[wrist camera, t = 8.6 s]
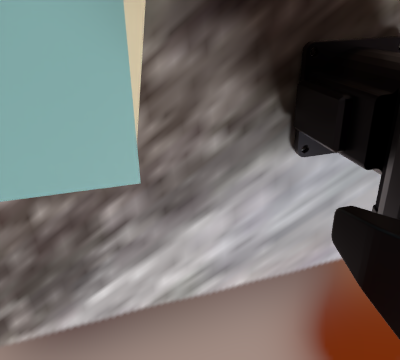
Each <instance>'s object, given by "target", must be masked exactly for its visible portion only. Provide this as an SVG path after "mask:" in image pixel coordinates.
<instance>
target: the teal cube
mask: <svg viewBox="0 0 400 360" xmlns="http://www.w3.org/2000/svg"><path fill="white" fill-rule="evenodd" d="M138 183H140V172H139V161H138V151H137V140H136V130H135V119H134V108H133V98H132V87H131V76H130V66H129V55H128V45H127V34H126V23H125V13H124V2H123V0H0V202H1V201H9V200H16V199H24V198H32V197H39V196H47V195H55V194H62V193H70V192H77V191H85V190H93V189H100V188H108V187H115V186H123V185H131V184H138Z"/></svg>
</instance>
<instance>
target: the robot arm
mask: <svg viewBox="0 0 400 360" xmlns="http://www.w3.org/2000/svg"><path fill="white" fill-rule="evenodd" d="M399 44H400V36H393V37H377V38H361V39H345V40H328V41H312V42H309V43H307V44H306V45H305V47H304V48H303V53H302V65H301V76H300V82H299V84H298V86H297V98H296V110H295V122H294V127H295V128H296V135H295V146H294V149H295V152H296V153H297V154H298V155H299V156H301V157H308V156H316V155H323V154H330V153H339V154H341V155H343V156H344V157H346V158H348V159H349V160H351V161H353V162H354V163H356V164H358V165H359V166H361V167H363V168H364V169H366V170H374V171H376V172H377V173H379V174H381V180H380V185H379V190H378V195H377V200H376V205H374V206H373V209H372V211H368V210H365V209H361V208H358V207H354V206H347V207H341V208H338V209H337V210H336V211H335V215H334V221H333V228H332V241H333V243H334V245H335V247H336V248H337V250H338V252H339V253H340V255H341V257H342V258H343V260H344V261H345V263H346V265H347V266H348V268H349V269H350V271H351V273H352V274H353V276H354V278H355V279H356V281H357V283H358V284H359V286H360V287H361V289H362V290H363V292H364V293H365V294H366V296H367V297H368V299H369V300H370V301H371V302H372V304H373V305H374V306H375V308H376V309H377V310H378V312H379V313H380V314H381V316H382V317H383V318H384V320H385V321H386V322H387V324H388V325H389V326H390V327H391V329H392V330H393V332H394V333H395V334H396V335H397V337H398V338H399V339H400V48H399V49H398V46H399ZM313 48H315V53H314V55H313V56H311V53H310V52H311V50H312V49H313ZM305 145H306V147H305V149H304V150H303V151H301V149H302V147H303V146H305Z"/></svg>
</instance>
